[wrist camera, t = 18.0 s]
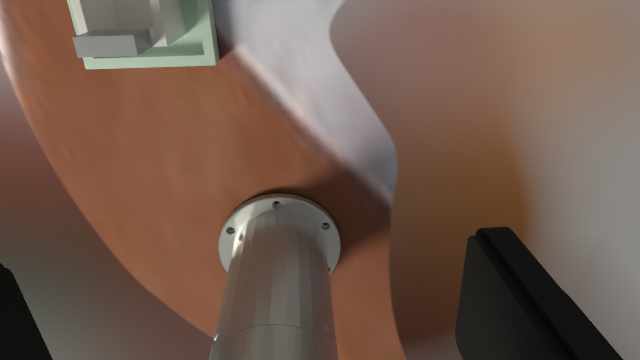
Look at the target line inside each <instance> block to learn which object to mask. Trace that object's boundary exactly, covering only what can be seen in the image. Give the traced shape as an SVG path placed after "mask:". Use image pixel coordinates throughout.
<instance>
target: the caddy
mask: <svg viewBox="0 0 640 360" xmlns="http://www.w3.org/2000/svg"><path fill="white" fill-rule="evenodd" d="M70 3H71V7H72V10H73V14H74V17H75V21H76V25H77V28H78V32H79V35H77V36H74V37H72V38H73V41H74V45H75V48H76V52H77V55H78V58H81V57H110V56H138V55H139V54H141V53H143V52H145V51H146V50H148V49H150V48H151V47H163V46H169V45H170V44H172V43H173V42H175V41H176V40H178V39H179V38H181V37H182V36H184V35H185V34H187V29H186V23H185V17H184V10H183V4H182V0H70Z"/></svg>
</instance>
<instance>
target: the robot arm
mask: <svg viewBox="0 0 640 360" xmlns="http://www.w3.org/2000/svg"><path fill="white" fill-rule="evenodd" d="M275 201H279V202H275ZM218 250H219V256H220V260H221V262H222V265H223V267H224V268H225V270H226V271H227V273H228V274H227V279H226V283H225V288H224V293H223V297H222V302H221V307H220V311H219V316H218V321H217V325H216V330H215V335H214V340H213V344H212V349H211V354H210V358H209V360H338V351H337V342H336V333H335V324H334V315H333V307H332V298H331V289H330V280H329V276H330V274H331V273H332V272H333V270H334V269H335V267H336V265H337V263H338V260H339V257H340V250H341V245H340V237H339V233H338V229H337V227H336V224H335V222H334V220H333V219H332V218H331V216H330V215H329V214H328V213H327V212H326V211H325V210H324V209H323V208H322V207H320V206H319V205H318V204H316V203H314V202H313V201H311V200H309V199H306V198H303V197H301V196H298V195H292V194H286V193H273V194H267V195H261V196H259V197H256V198H253V199H250V200H248V201H247V202H245V203H243V204H241V205H240V206H239V207H237V208H236V209H235V210H234V211H233V212H232V213H231V214H230V215H229V217H228V218H227V219H226V221H225V223H224V225H223V227H222V230H221V233H220V237H219V245H218ZM455 336H456V343H457V346H458V349H459V351H460V354H461V356H462V358H463V360H623V359H622V358H621V357H620V355H619V354H618V353H617V352H616V351H615V350H614V348H613V347H612V346H611V345H610V344H609V343H608V341H607V340H606V339H605V338H604V337H603V336H602V334H601V333H600V332H599V331H598V330H597V328H596V327H595V326H594V325H593V324H592V322H591V321H590V320H589V319H588V318H587V317H586V315H585V314H584V313H583V312H582V311H581V309H580V308H579V307H578V306H577V305H576V304H575V302H574V301H573V300H572V299H571V298H570V297H569V296H568V295H567V294H566V293H565V292H564V291H563V290H562V289H561V288H560V287H559V286H558V285H557V284H556V282H555V281H554V280H553V278H552V277H551V276H550V275H549V274H548V273H547V271H546V270H545V269H544V268H543V267H542V265H541V264H540V263H539V262H538V261H537V259H536V258H535V257H534V256H533V255H532V254H531V252H530V251H529V250H528V249H527V248H526V246H525V245H524V244H523V243H522V242H521V240H520V239H519V238H518V237H517V236H516V235H515V233H514V232H513V231H512V230H511V229H510V228H508V227H494V228H480V229H478V231H477V232H476V235H475V236H470V237H469V239H468V242H467V249H466V256H465V263H464V271H463V278H462V286H461V292H460V300H459V307H458V315H457V321H456V329H455ZM0 360H53V359H52V357H51V356H50V353H49V351H48V349H47V346H46V345H45V342H44V340H43V338H42V336H41V334H40V331H39V329H38V327H37V325H36V323H35V321H34V319H33V317H32V314H31V312H30V310H29V308H28V306H27V303H26V301H25V300H24V297H23V295H22V293H21V291H20V288H19V286H18V284H17V282H16V280H15V278H14V275H13V274H12V272H11V270H9V269H8V268H4V266H3V265H2V264H1V263H0Z"/></svg>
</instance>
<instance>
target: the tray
mask: <svg viewBox="0 0 640 360" xmlns="http://www.w3.org/2000/svg"><path fill="white" fill-rule="evenodd" d="M67 2H68V6H69V9H70V13H71V16H72V20H73V24H74V27H75V31H76V35H79V32H78V28H77V25H76V21H75V17H74V14H73V10H72V7H71V3H70V0H67ZM182 4H183V10H184V17H185V23H186V29H187V34H185V35H184V36H182V37H181V38H179V39H178V40H176V41H175V42H173V43H172V44H170V45H169V46H163V47H151V48H150V49H148V50H146V51H145V52H143V53H141V54H139V55H138V56H110V57H83V60H84V64H85V68H86V69H113V68H144V67H176V66H207V65H216V64H217V63H218V62H219V60H220V58H219V51H218V43H217V35H216V27H215V19H214V11H213V3H212V0H182Z"/></svg>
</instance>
